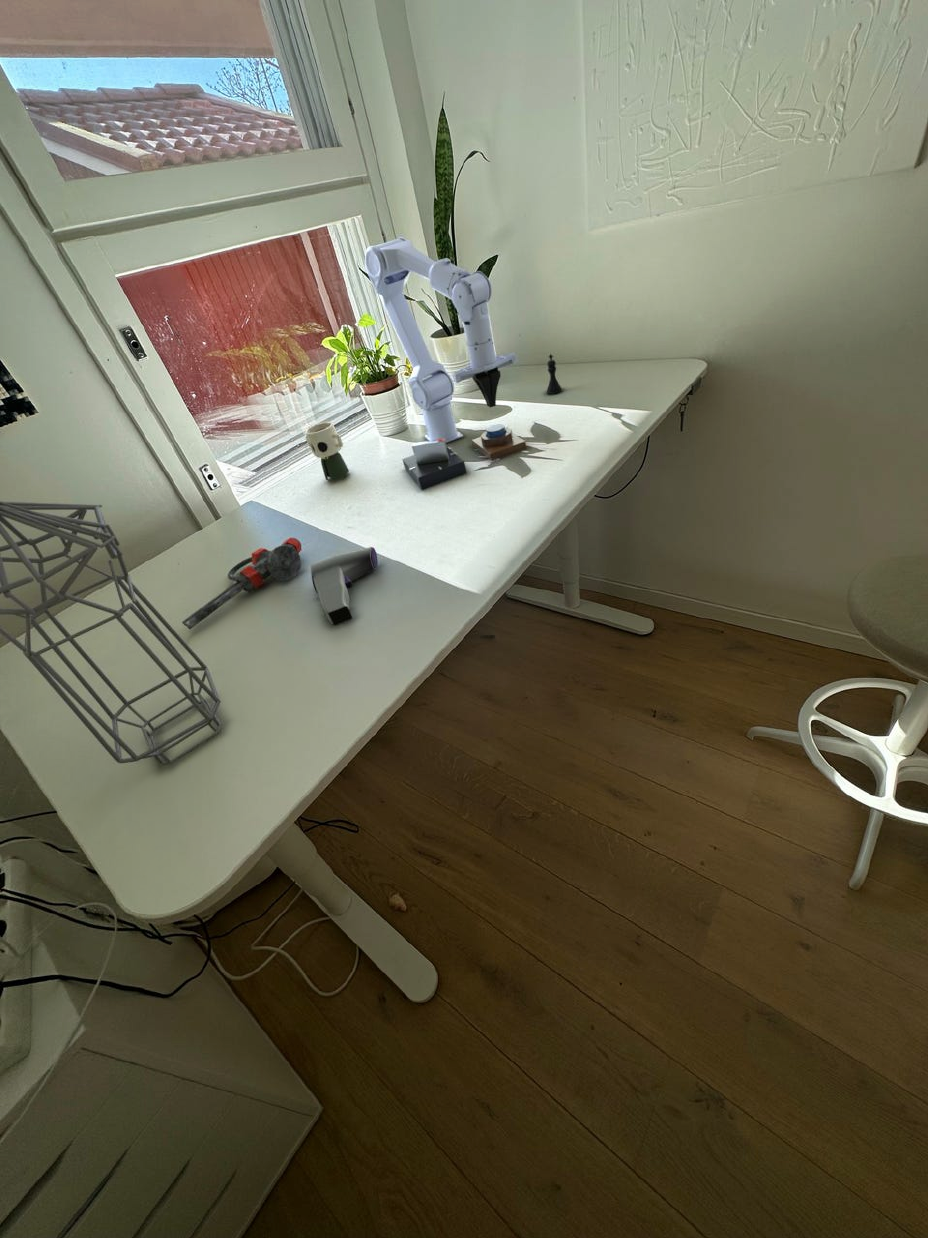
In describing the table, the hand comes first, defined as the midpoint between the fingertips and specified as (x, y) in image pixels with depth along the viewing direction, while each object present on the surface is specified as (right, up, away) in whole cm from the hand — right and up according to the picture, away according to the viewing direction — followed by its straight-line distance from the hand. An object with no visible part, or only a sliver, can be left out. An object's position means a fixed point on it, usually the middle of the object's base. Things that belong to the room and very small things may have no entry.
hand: (491, 405), depth 119 cm
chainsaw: (-48, -43, -20) cm, 67 cm away
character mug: (-38, -13, +14) cm, 43 cm away
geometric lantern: (-45, -65, -48) cm, 92 cm away
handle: (-13, -13, 0) cm, 18 cm away
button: (+1, -5, +4) cm, 7 cm away
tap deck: (-13, -14, +3) cm, 20 cm away
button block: (+2, -7, +6) cm, 10 cm away
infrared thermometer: (-25, -44, -30) cm, 59 cm away
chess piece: (+19, +16, +29) cm, 38 cm away
